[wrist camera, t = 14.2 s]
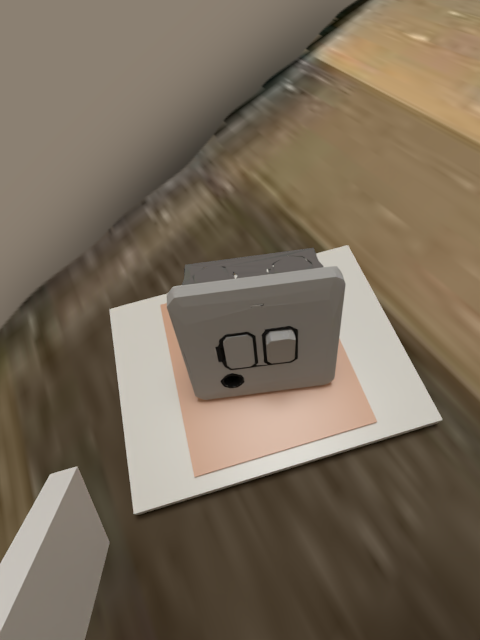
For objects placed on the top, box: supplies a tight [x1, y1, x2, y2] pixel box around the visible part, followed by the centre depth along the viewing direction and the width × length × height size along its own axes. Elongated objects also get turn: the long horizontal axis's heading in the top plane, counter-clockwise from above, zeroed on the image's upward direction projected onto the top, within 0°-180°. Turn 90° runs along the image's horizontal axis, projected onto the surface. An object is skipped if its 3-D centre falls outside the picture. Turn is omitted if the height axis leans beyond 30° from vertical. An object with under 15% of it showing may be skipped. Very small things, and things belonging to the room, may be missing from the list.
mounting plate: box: [109, 245, 442, 515], centre depth 28 cm, size 20×15×1 cm
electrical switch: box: [167, 248, 346, 400], centre depth 23 cm, size 9×5×9 cm, turn 96°
